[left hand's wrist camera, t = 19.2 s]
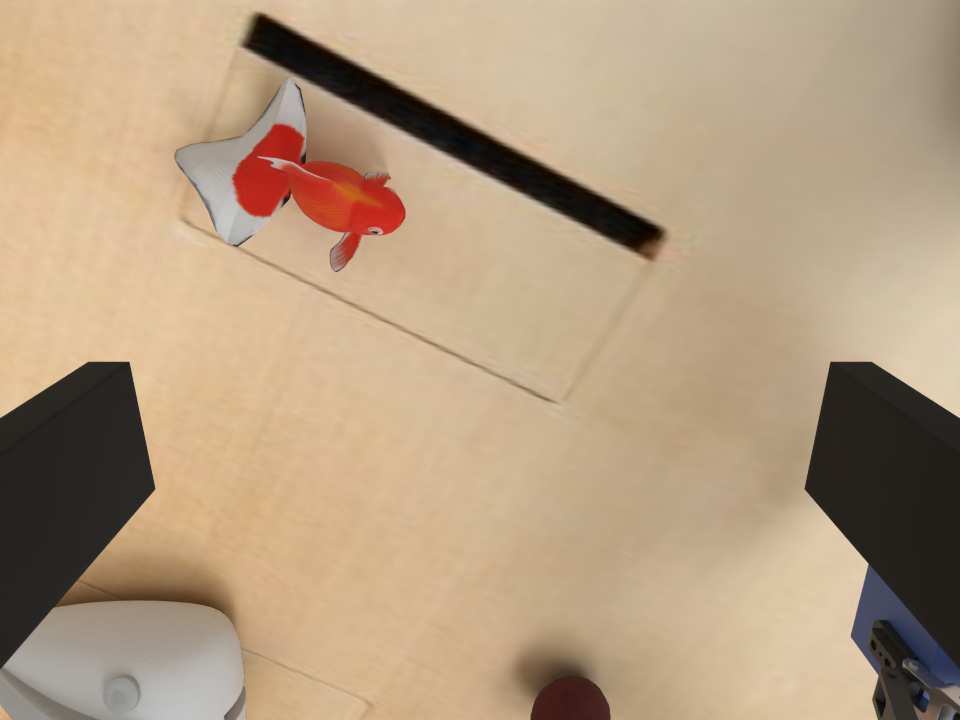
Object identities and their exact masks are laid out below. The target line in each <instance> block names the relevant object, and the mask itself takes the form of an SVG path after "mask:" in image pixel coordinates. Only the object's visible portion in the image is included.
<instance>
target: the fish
mask: <svg viewBox="0 0 960 720" xmlns="http://www.w3.org/2000/svg"><path fill="white" fill-rule="evenodd" d="M175 161H176V162H177V164H178V166H179V168H180V169H181V170H182V171H183V172H184V174H185V175H186V176H187V177H188V179H189V180H190V182H191V183H192V184H193V186H194V187H195V189H196V190H197V192H198V193H199V195H200V197H201V199H202V200H203V202H204V204H205V206H206V208H207V210H208V211H209V214H210V217H211V219H212V222H213V225H214V227H215V230H216V231H217V232H218V234H219V235H220V236H221V237H222V238H223V239H224V241H225V242H226V243H227V244H230V245H233V246H236V247H238V246H239V245H241V244H242V243H243V242H245V241H246V240H247V239H249V238H250V237H251V236H253V235H254V234H255V233H256V232H257V231H259V230H260V229H261V228H262V227H263V226H264V225H265V224H266V223H267V222H268V221H269V220H270V219H271V218H272V217H273V216H274V215H275V214H276V213H277V212H278V211H279V210H280V209H281V207H282V206H283V205H284V204H285V203H286V202H287V201H288V200H289V198H290V195H291V196H293V197H294V199H295V201H296V202H297V204H298V206H299V207H300V209H301V210H302V211H303V212H304V213H305V215H307V216H308V217H309V218H310V219H312V220H313V221H314V222H316V223H318V224H319V225H321V226H323V227H325V228H328V229H330V230H334V231H337V232H346V233H345V234H344V236H343V238H342V239H341V241H340V242H339V243H338V244H337V245H336V246H334V247H333V248H332V249H331V251H330V264H331V267H332V269H333V270H334V271H335V272H337V271H340V270H341V269H342V268H344V267H345V266H346V264H347V263H348V261H349V260H350V259H351V258H352V257H353V256H354V254H355V252H356V250H357V248H358V246H359V243H360V240H361V237H362V235H386V234H389V233H392V232H393V231H394V230H396V229H397V228H398V227H399V226H400V225H401V224H402V222H403V221H404V219H405V208H404V206H403V204H402V202H401V200H400V198H399V197H398V195H397V193H396V192H395V191H394V190H393V189H391V188H389V187H383V186H384V184H385V183H386V182H387V180H388V179H390V178H391V177H390V176H389V173H384V172H370V173H367V174H366V175H365V177H363V176H361V175H360V174H359V173H357V172H356V171H354V170H353V169H351V168H349V167H346V166H343V165H341V164H337V163H332V162H324V161H314V162H309V163H305V161H306V116H305V109H304V104H303V99H302V94H301V89H300V88H299V87H298V86H297V85H296V84H295V83H294V82H293V81H292V80H291V79H290V78H289V77H288V78H287V79H286V80H285V81H284V82H283V84H282V85H281V86H280V88H279V89H278V91H277V93H276V94H275V96H274V97H273V99H272V101H271V102H270V104H269V105H268V107H267V108H266V110H265V111H264V112H263V114H262V115H261V117H260V118H259V119H258V121H257V122H256V123H255V124H254V125H253V126H252V127H251V128H250V129H249V130H248V131H247V132H246V133H245V134H244V135H243V136H241V137H236V138H232V139H227V140H222V141H218V142H208V143H197V144H190V145H188V146H185V147H182V148H180V149H177V151H176V153H175Z"/></svg>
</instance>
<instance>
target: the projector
mask: <svg viewBox="0 0 960 720" xmlns="http://www.w3.org/2000/svg"><path fill="white" fill-rule="evenodd" d="M244 678H245V675H244V664H243V656H242V649H241V644H240V640H239V636H238V634H237V631H236V629H235V628H234V626H233V624H232V622H231V621H230V619H229V618H228V617H227V616H226V615H225V614H223V613H222V612H220V611H219V610H217V609H214V608H212V607H208V606H204V605H199V604H193V603H184V602H171V601H141V600H139V601H106V602H93V603H82V604H74V605H67V606H61V607H54V608H53V609H52V610H51V611H50V612H49V614H48V615H47V616H46V617H45V618H44V619H43V621H42V622H41V623H40V624H39V625H38V626H37V628H36V629H35V630H34V631H33V632H32V633H31V635H30V636H29V637H28V638H27V639H26V640H25V641H24V643H23V644H22V645H21V646H20V647H19V648H18V650H17V651H16V652H15V653H14V654H13V655H12V657H11V658H10V659H9V660H8V661H7V662H6V664H5V665H4V666H3V667H2V668H1V669H0V705H1V706H2V708H3V709H4V710H5V711H6V712H7V714H8V715H9V716H10V717H11V718H12V719H13V720H246V715H247V709H246V691H245V687H244Z"/></svg>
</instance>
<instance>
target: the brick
mask: <svg viewBox="0 0 960 720" xmlns="http://www.w3.org/2000/svg"><path fill="white" fill-rule="evenodd" d="M875 620H887V621H889V623H890V624H891V625H892V626H893V627H894V629H895V630H896V631H897V632H898V634H899V635H900V636H901V637H902V638H903V640H904V641H905V642H906V643H907V645H908V646H909V647H910V648H911V650H912V651H913V652H914V653H915V654H916V656H917V657H918V658H919V659H918V661H919V662H920V663H921V664H923V665H924V666H925V667H926V668H927V669H929V670H930V671H931V672H932V673H933V674H934V675H936V676H937V677H938V678H939V679H940V680H941V681H943V682H944V683H946V684H948V683H954V684H956V685H957V686H958V687H959V688H960V669H959V668H958V667H957V666H956V665H955V664H954V662H953V661H952V660H951V659H950V658H949V657H948V655H947V654H946V653H945V652H944V651H943V650H942V648H941V647H940V646H939V645H938V644H937V643H936V641H935V640H934V639H933V638H932V637H931V636H930V635H929V633H928V632H927V631H926V630H925V629H924V628H923V626H922V625H921V624H920V623H919V622H918V621H917V619H916V618H915V617H914V616H913V615H912V614H911V612H910V611H909V610H908V609H907V608H906V607H905V605H904V604H903V603H902V602H901V601H900V600H899V598H898V597H897V596H896V595H895V594H894V593H893V591H892V590H891V589H890V588H889V587H888V586H887V584H886V583H885V582H884V581H883V580H882V579H881V577H880V576H879V575H878V574H877V573H876V572H875V571H874V569H873V568H872V567H871V566H870V565H868V569H867V573H866V577H865V581H864V585H863V589H862V593H861V597H860V601H859V605H858V609H857V613H856V617H855V621H854V625H853V629H852V633H851V638H852V639H853V640H854V642H855V643H856V645H857V646H858V647H859V649H860V650H861V651H862V653H863V654H864V656H865V657H866V658H867V660H868V661H869V663H870V664H871V665H872V667H873V668H874V670H875V671H876V672H877V674H878V675H879V673H880V670H881V668H882V667H881V666H880V664H879V663H878V661H877V660H876V659H875V657H874V655H872V653H871V652H870V651H869V649H868V640H869V636H870V632H871V629H872V627H873V623H874V621H875ZM919 692H920V693H921V694H922V695H923V696H924V697H926V698H927V699H928V700H930V698H929V695H928V694H927V693H926V692H925V691H924V690H923V689H922V688H921V687H920V690H919ZM955 713H956V711H955V710H954V713H953V716H952V719H951V720H953V717H954V715H955ZM917 717H918V720H921V719H920V718H919V716H917Z"/></svg>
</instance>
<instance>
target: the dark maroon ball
mask: <svg viewBox="0 0 960 720" xmlns="http://www.w3.org/2000/svg"><path fill="white" fill-rule="evenodd" d="M531 720H611V718H610V708H609V704H608V702H607V700H606V698H605V696H604V695H603V693H602V691H601V690H600V688H599V687H598V686H597V685H596V684H594V683H593V682H591V681H590V680H588V679H585V678H581V677H565V678H562V679H559V680H556V681H554V682H552V683H551V684H549V685H548V686H546V687H545V688H544V689H543V690H542V691H541V692H540V693H539V695H538V696H537V698H536V700H535V702H534V705H533V709H532V713H531Z"/></svg>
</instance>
